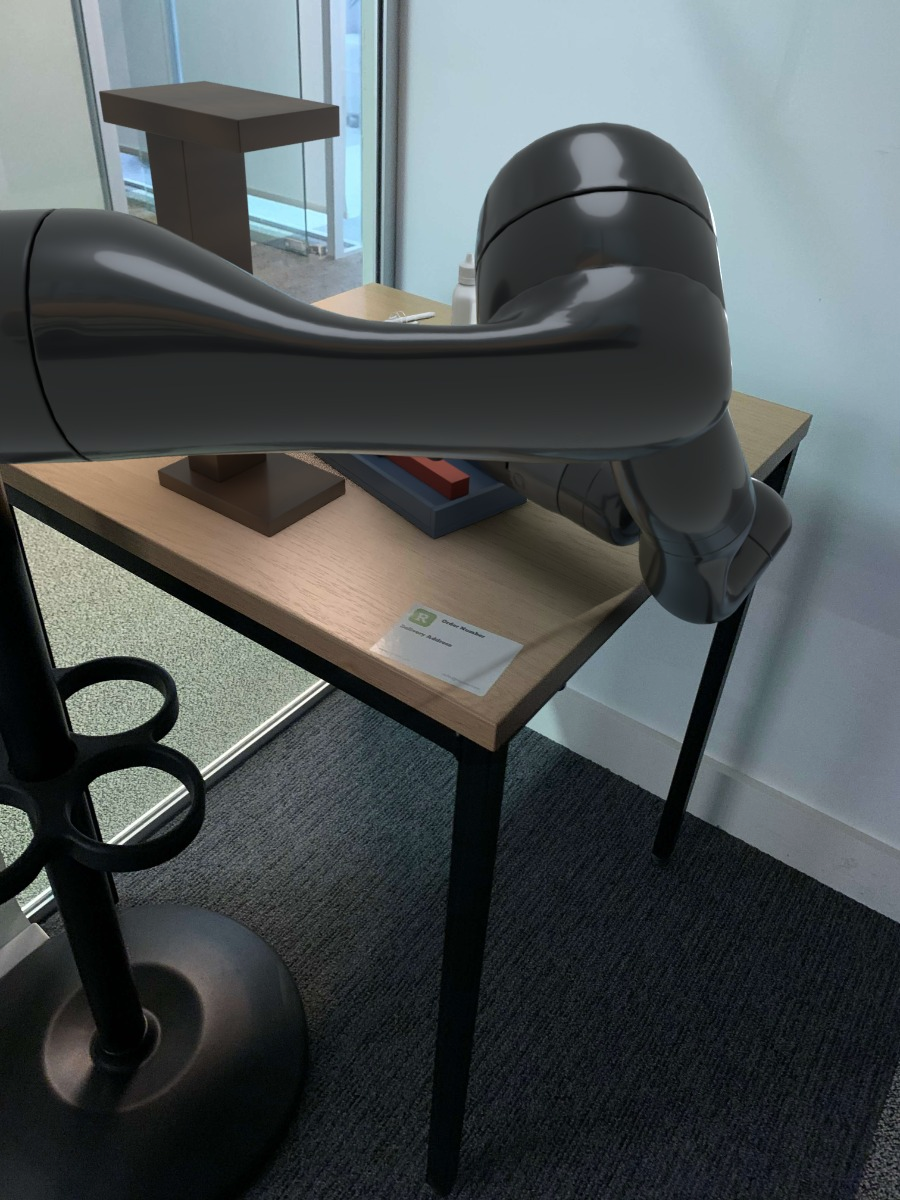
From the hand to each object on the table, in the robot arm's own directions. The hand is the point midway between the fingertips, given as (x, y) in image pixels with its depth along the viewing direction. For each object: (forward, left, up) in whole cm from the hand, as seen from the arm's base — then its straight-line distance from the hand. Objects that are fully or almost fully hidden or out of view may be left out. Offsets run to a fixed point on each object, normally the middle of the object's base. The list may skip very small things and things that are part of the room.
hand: (421, 385), depth 82 cm
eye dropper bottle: (+10, +32, -10) cm, 35 cm away
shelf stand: (-16, -1, -9) cm, 18 cm away
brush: (-1, +2, -9) cm, 9 cm away
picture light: (+3, +40, -10) cm, 41 cm away
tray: (-1, +1, -9) cm, 10 cm away
